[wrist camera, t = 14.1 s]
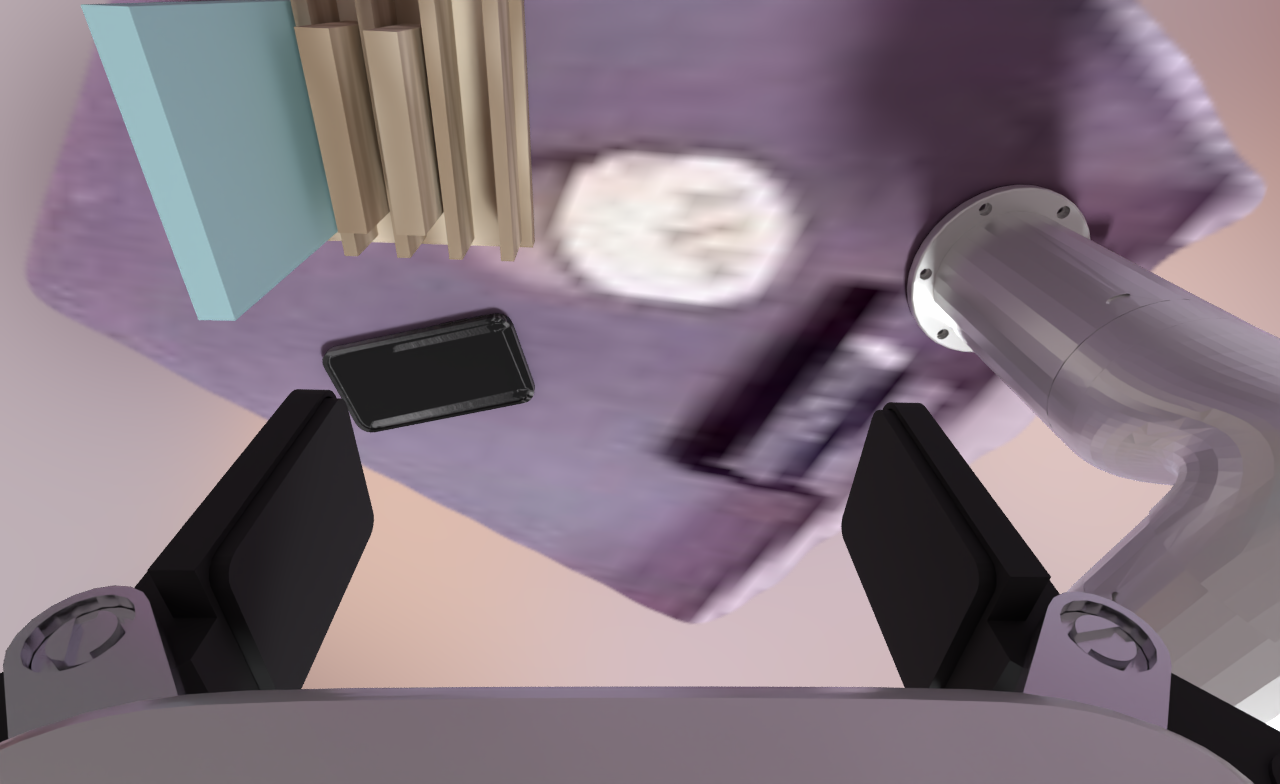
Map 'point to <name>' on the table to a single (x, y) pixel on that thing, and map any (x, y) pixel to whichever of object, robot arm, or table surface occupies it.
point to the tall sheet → (220, 139)
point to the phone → (431, 373)
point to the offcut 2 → (405, 125)
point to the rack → (459, 118)
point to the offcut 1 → (344, 123)
